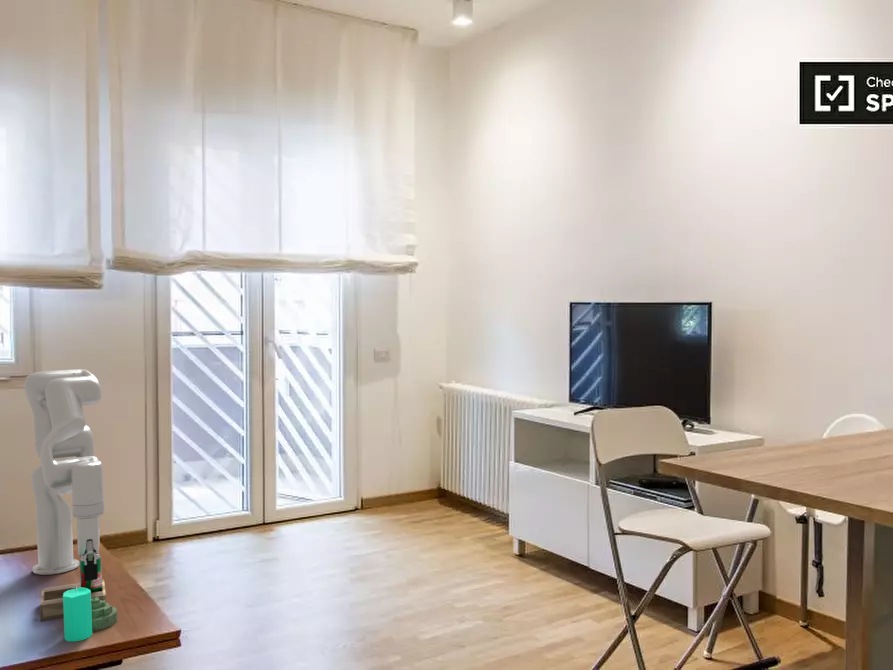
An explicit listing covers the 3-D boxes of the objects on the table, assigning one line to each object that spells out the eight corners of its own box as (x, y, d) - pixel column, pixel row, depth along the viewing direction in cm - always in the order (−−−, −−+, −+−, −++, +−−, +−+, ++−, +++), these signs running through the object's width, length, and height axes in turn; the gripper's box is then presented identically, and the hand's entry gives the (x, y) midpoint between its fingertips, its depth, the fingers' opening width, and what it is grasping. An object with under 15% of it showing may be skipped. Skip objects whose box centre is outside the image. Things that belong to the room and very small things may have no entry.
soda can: (94, 604, 208) (92, 557, 208) (77, 603, 210) (75, 557, 209) (106, 597, 213) (104, 552, 213) (89, 596, 214) (87, 551, 214)
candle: (70, 632, 193) (68, 582, 192) (96, 630, 193) (94, 580, 193) (60, 642, 187) (58, 590, 186) (87, 640, 187) (85, 589, 187)
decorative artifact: (68, 622, 199) (77, 635, 191) (67, 594, 199) (76, 605, 191) (111, 613, 205) (122, 624, 197) (110, 585, 205) (120, 596, 197)
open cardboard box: (42, 603, 213) (42, 588, 213) (104, 594, 219) (104, 579, 219) (40, 621, 200) (40, 605, 200) (106, 610, 206) (105, 595, 206)
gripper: (72, 503, 217) (74, 567, 218) (72, 518, 201) (74, 586, 202) (103, 500, 220) (105, 562, 221) (105, 515, 204) (107, 582, 205)
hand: (90, 574), depth 211 cm, fingers open, 9 cm apart
